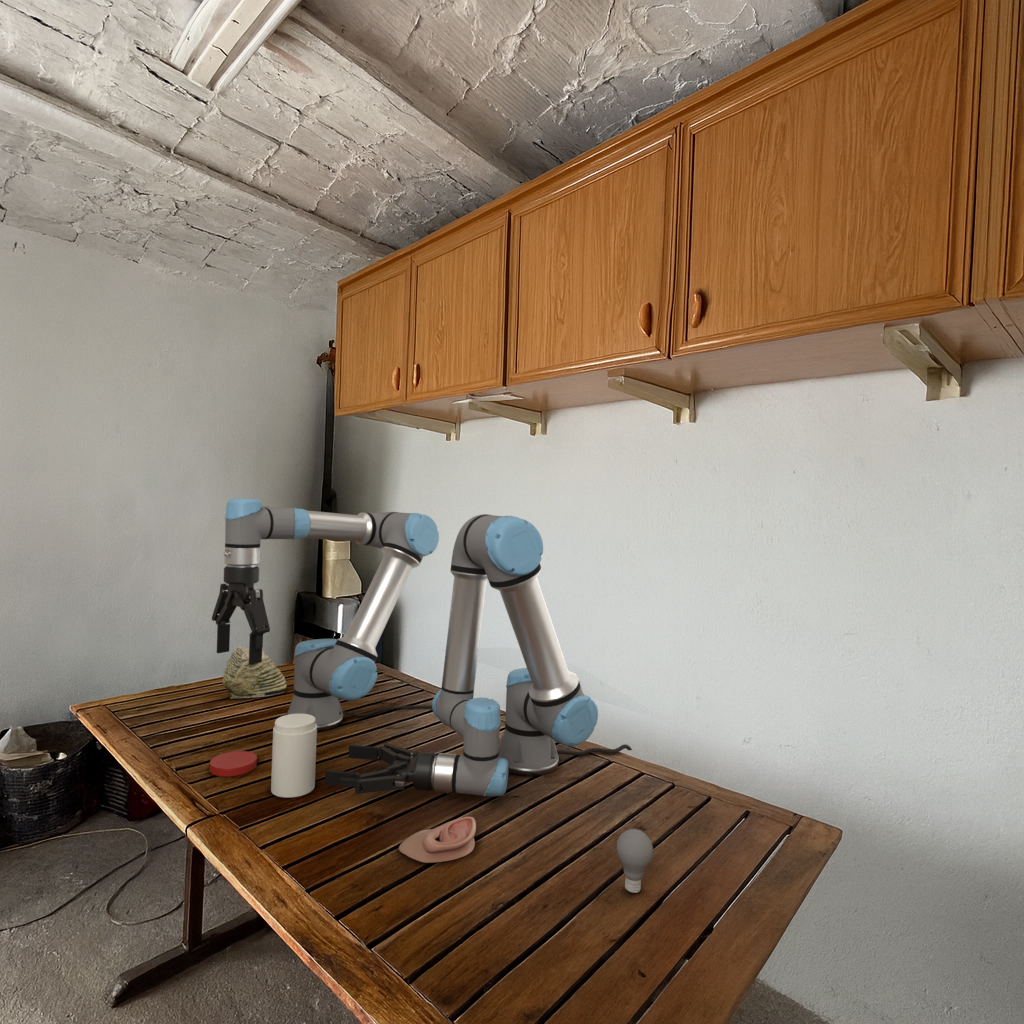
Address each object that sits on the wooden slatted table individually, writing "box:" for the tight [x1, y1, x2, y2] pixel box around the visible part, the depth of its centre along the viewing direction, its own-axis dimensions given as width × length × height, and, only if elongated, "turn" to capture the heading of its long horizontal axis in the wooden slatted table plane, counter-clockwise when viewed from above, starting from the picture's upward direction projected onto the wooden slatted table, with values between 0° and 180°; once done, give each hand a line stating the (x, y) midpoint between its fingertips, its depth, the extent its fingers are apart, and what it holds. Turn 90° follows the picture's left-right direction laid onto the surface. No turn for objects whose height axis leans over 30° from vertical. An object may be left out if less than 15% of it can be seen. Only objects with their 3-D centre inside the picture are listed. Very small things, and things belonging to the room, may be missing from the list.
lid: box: [209, 750, 258, 778], centre depth 146 cm, size 10×10×2 cm
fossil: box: [222, 646, 288, 699], centre depth 198 cm, size 9×18×15 cm, turn 132°
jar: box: [270, 714, 318, 799], centre depth 137 cm, size 9×9×15 cm
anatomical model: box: [398, 816, 477, 864], centre depth 116 cm, size 13×4×12 cm
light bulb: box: [615, 828, 654, 894], centre depth 106 cm, size 6×6×10 cm
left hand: (238, 657), depth 146 cm, fingers open, 13 cm apart
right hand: (337, 763), depth 136 cm, fingers open, 13 cm apart
